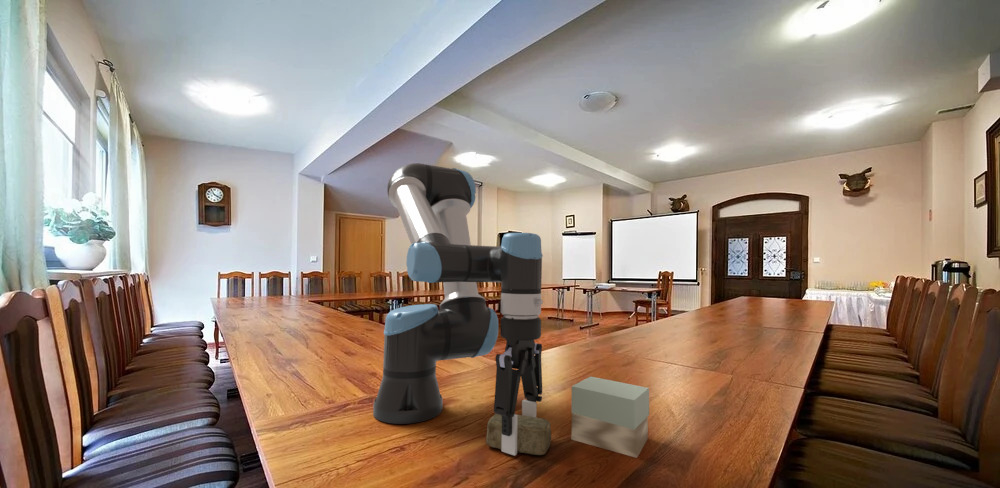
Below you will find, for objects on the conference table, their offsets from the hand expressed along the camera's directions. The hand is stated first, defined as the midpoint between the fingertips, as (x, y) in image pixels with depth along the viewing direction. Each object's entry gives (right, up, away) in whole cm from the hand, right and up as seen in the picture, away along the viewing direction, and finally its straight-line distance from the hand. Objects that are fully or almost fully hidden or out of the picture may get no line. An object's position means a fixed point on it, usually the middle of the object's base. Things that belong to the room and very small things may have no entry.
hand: (519, 444), depth 67 cm
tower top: (+18, +4, +4) cm, 19 cm away
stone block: (0, -1, 0) cm, 1 cm away
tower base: (+18, -1, +4) cm, 18 cm away
